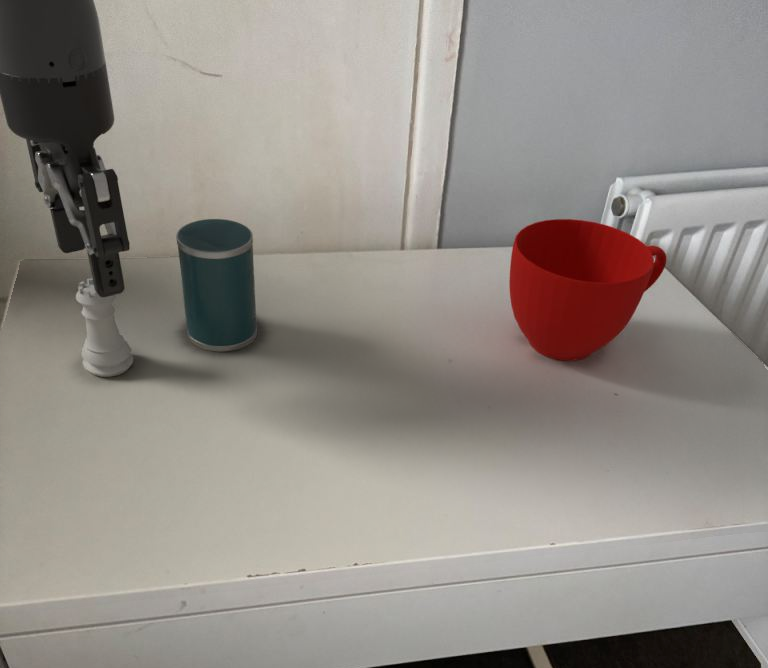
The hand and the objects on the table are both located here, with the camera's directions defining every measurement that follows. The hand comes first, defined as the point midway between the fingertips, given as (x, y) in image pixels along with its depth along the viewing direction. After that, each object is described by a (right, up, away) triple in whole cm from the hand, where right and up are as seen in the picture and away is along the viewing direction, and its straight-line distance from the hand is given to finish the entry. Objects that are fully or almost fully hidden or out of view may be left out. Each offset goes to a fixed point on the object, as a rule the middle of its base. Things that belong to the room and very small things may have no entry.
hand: (91, 271), depth 69 cm
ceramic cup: (+44, -3, +15) cm, 47 cm away
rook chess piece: (-1, -7, +7) cm, 10 cm away
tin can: (+9, -3, +12) cm, 15 cm away
